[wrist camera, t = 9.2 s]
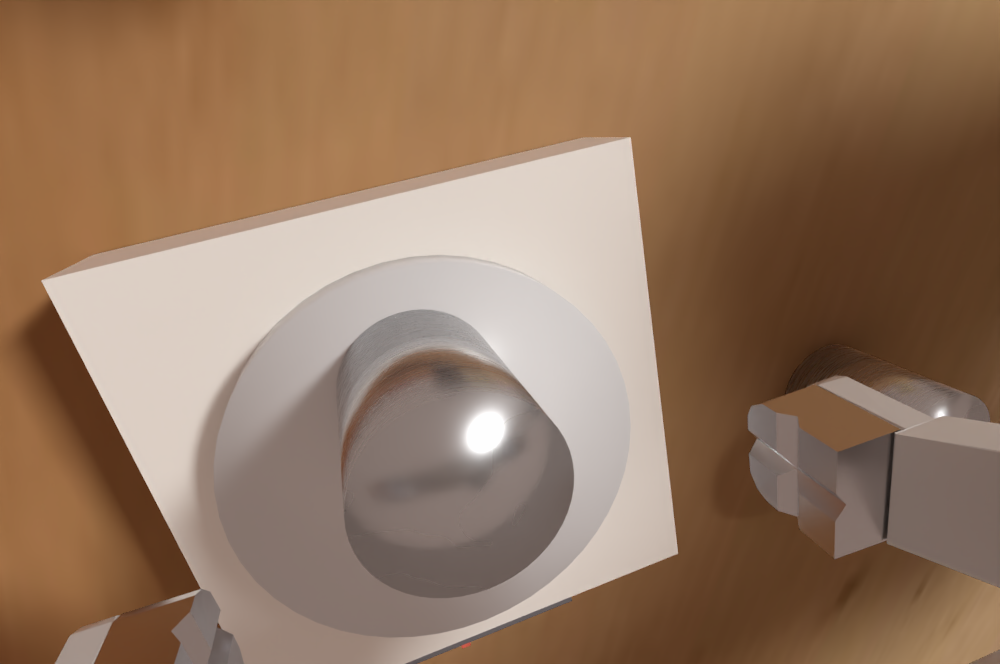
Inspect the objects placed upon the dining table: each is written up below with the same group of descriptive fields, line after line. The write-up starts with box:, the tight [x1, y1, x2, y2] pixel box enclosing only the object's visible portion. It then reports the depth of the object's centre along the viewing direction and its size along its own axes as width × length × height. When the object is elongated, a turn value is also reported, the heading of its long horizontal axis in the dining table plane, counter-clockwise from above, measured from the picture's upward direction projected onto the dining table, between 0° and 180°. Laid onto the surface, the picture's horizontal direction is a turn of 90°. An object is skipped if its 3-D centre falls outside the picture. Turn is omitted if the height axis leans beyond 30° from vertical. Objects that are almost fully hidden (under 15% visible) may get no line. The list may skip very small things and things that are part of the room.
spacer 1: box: [336, 309, 574, 598], centre depth 12 cm, size 4×4×5 cm
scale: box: [42, 137, 678, 664], centre depth 17 cm, size 14×15×4 cm
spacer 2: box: [785, 344, 990, 422], centre depth 22 cm, size 4×4×5 cm
